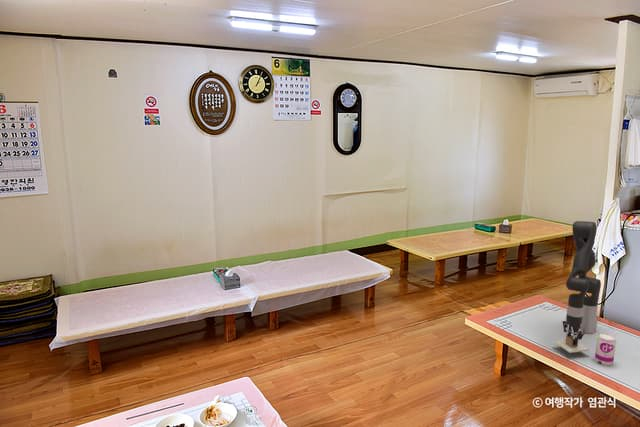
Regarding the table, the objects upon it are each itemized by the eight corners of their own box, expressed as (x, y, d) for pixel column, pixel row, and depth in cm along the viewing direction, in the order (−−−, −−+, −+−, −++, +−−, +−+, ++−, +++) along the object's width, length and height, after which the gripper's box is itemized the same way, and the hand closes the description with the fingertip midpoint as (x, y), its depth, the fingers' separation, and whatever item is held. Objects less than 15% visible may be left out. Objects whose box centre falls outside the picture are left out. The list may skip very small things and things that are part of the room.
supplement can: (613, 369, 227) (616, 342, 224) (594, 364, 231) (597, 338, 228) (612, 362, 234) (616, 335, 231) (594, 357, 238) (597, 331, 235)
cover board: (573, 340, 248) (573, 331, 247) (588, 350, 237) (589, 341, 236) (555, 342, 246) (556, 333, 245) (569, 352, 235) (570, 343, 234)
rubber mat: (572, 347, 250) (572, 345, 249) (589, 358, 237) (589, 357, 237) (551, 349, 247) (551, 347, 247) (567, 361, 235) (568, 359, 235)
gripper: (591, 318, 231) (587, 348, 235) (571, 307, 245) (568, 336, 249) (578, 320, 230) (575, 350, 234) (559, 308, 244) (556, 337, 247)
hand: (571, 343), depth 241 cm, fingers closed on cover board, 4 cm apart
